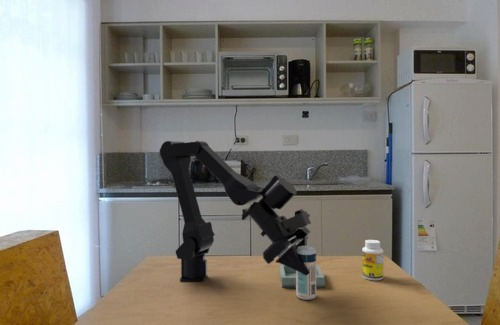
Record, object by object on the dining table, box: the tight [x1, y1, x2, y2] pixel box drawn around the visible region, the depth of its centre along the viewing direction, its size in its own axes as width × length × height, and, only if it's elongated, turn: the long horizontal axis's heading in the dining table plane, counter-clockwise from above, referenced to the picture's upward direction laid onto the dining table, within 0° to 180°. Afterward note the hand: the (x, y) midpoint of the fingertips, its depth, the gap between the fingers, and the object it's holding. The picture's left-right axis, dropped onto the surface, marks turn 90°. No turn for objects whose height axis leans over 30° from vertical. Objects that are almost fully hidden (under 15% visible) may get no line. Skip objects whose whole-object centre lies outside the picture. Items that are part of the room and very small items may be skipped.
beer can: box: [295, 245, 317, 301], centre depth 88 cm, size 5×5×12 cm
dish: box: [279, 264, 326, 289], centre depth 101 cm, size 11×11×3 cm
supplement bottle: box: [361, 239, 384, 281], centre depth 102 cm, size 6×6×10 cm
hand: (311, 270), depth 88 cm, fingers closed on beer can, 5 cm apart
